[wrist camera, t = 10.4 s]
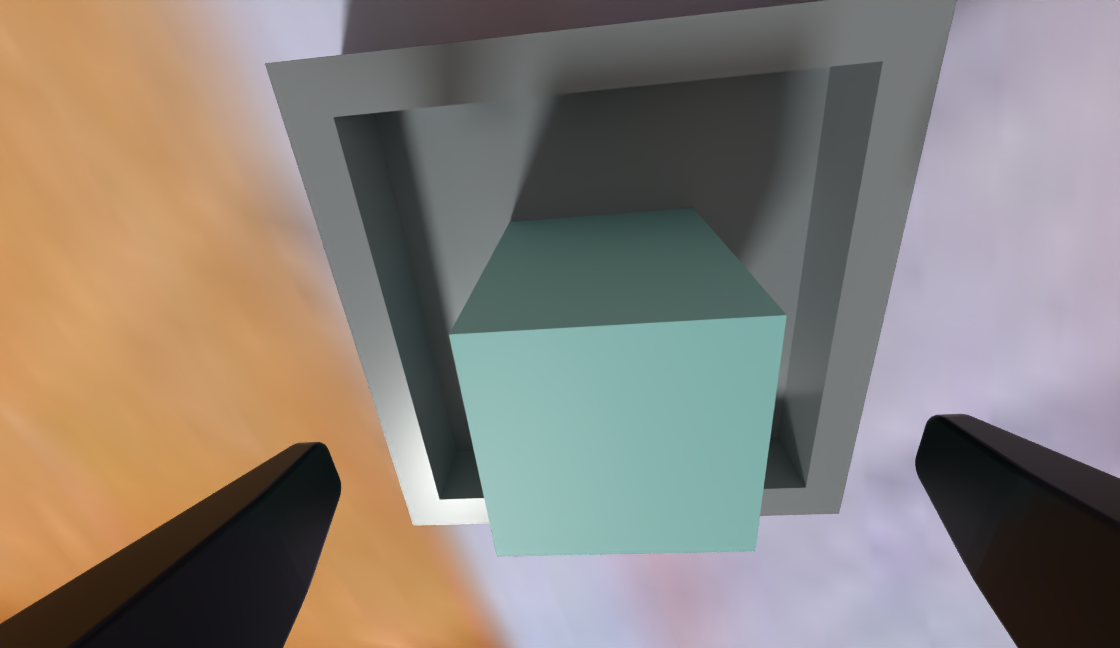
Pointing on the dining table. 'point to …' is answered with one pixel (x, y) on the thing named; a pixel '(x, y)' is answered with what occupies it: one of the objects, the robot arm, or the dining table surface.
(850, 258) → the bin
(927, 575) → the dining table surface
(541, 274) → the block
